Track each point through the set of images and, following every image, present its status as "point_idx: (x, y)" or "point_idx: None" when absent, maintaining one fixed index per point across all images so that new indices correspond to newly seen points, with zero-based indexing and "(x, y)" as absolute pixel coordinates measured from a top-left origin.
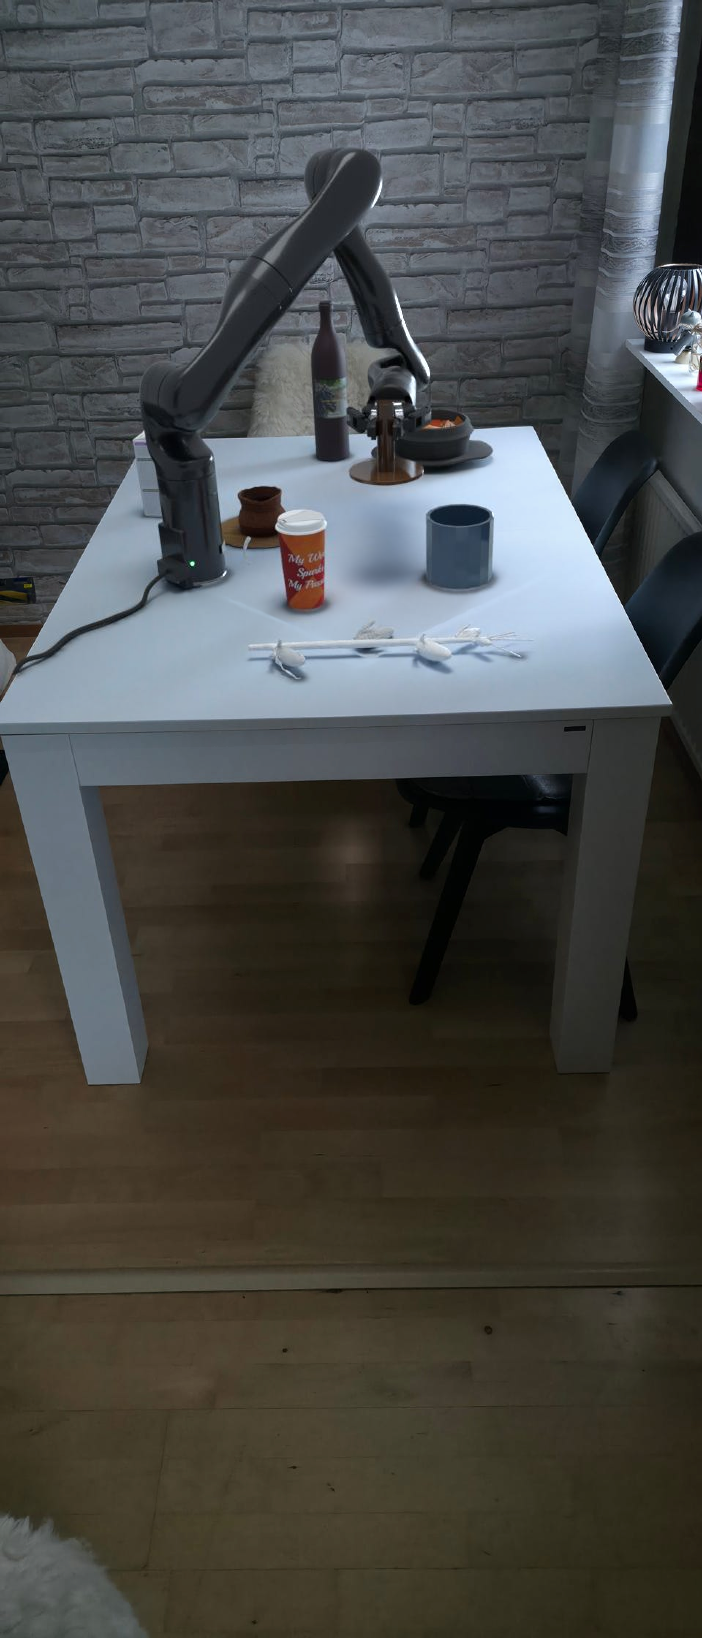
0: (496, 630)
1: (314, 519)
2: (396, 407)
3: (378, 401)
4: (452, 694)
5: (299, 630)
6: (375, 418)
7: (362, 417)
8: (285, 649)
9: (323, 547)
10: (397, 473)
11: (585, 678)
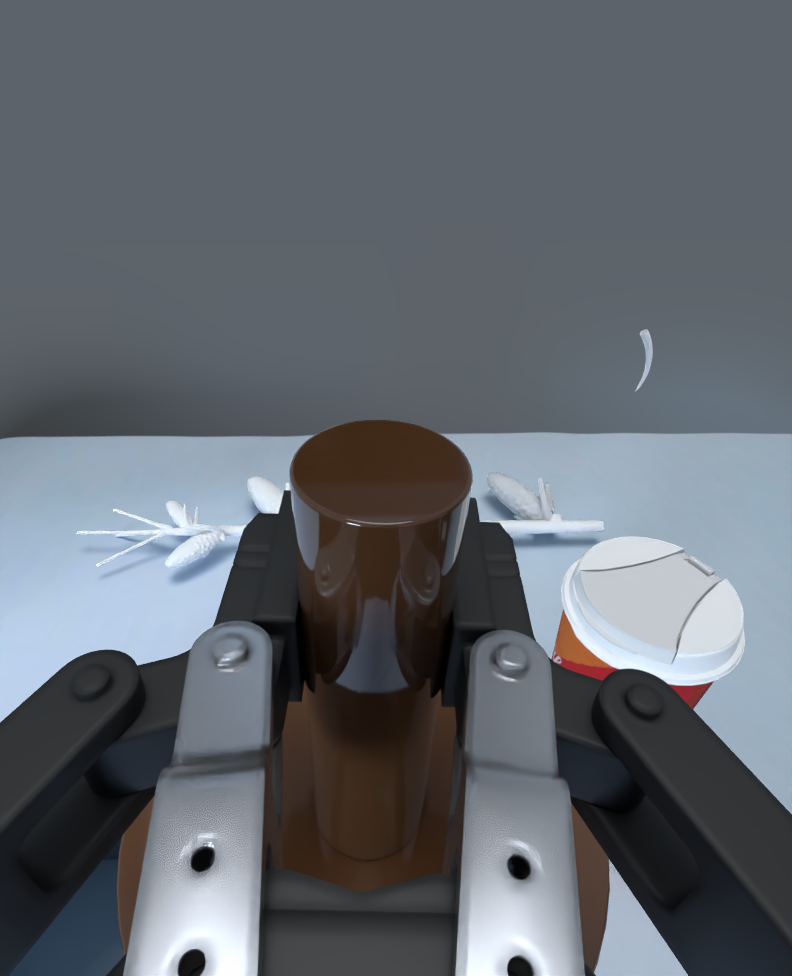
0: (116, 626)
1: (602, 572)
2: (229, 869)
3: (452, 480)
4: (261, 459)
5: (548, 634)
6: (474, 648)
7: (612, 680)
8: (528, 490)
9: (557, 638)
10: (302, 729)
11: (42, 484)
